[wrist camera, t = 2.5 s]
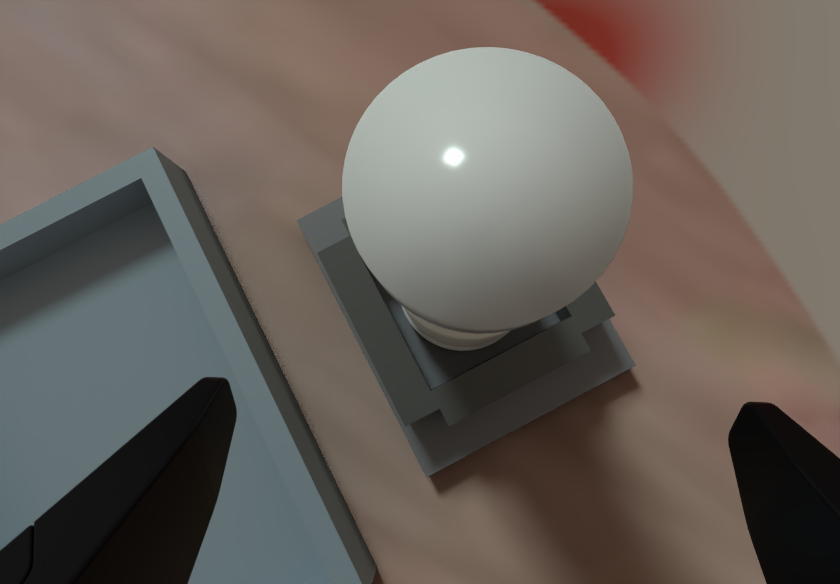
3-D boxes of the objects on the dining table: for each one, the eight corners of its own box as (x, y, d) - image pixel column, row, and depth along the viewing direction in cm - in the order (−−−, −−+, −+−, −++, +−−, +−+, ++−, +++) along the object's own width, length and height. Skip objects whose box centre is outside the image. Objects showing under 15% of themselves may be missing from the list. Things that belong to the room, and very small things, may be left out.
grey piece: (628, 365, 21) (654, 365, 18) (427, 472, 20) (425, 487, 18) (492, 127, 22) (498, 95, 19) (302, 225, 22) (283, 206, 19)
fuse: (544, 316, 20) (689, 241, 8) (436, 373, 20) (425, 381, 8) (485, 211, 21) (542, 0, 9) (380, 266, 21) (294, 128, 9)
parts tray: (377, 568, 20) (368, 595, 18) (61, 737, 20) (6, 790, 17) (185, 171, 22) (152, 147, 20) (-103, 319, 22) (-172, 312, 19)
